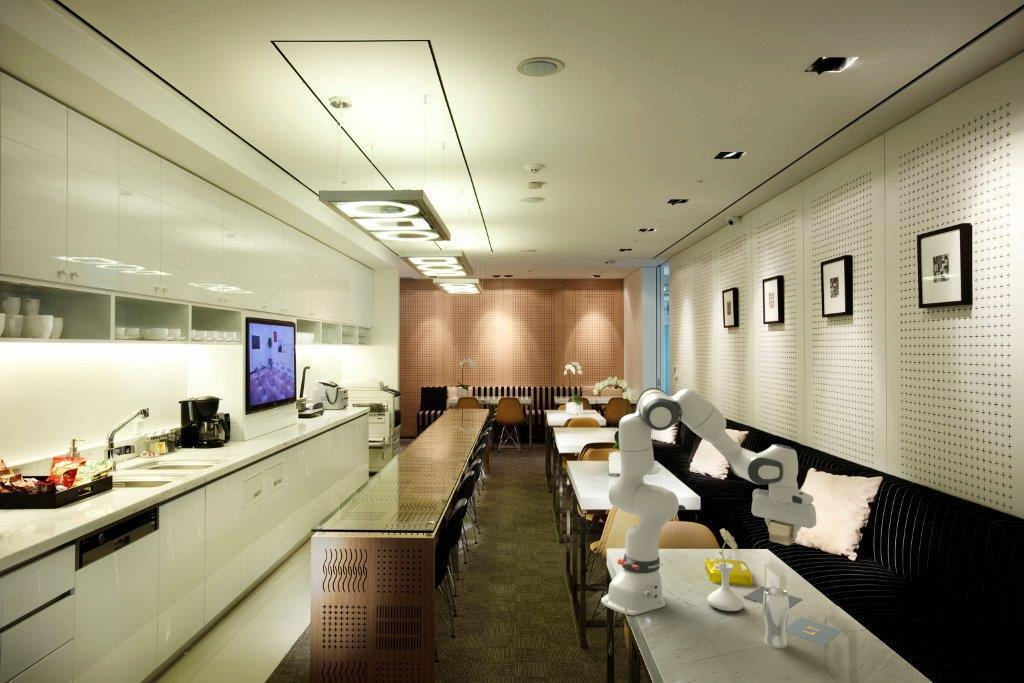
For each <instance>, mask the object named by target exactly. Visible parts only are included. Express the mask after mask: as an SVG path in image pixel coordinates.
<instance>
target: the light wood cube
mask: <svg viewBox="0 0 1024 683" xmlns="http://www.w3.org/2000/svg"><path fill="white" fill-rule="evenodd" d="M795 529H796V528H794V525H793V524H788V523H784V522H780V521H776V520H772V521H770V532H769V541H770V542H772V543H776V544H777V543H778V544H781V545H784V546H790V545H793V544H794V543H796V542H797V540H796V539H797V538H796V539H795V538H791V532H794V531H795Z"/></svg>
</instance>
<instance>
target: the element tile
mask: <svg viewBox="0 0 1024 683" xmlns="http://www.w3.org/2000/svg"><path fill="white" fill-rule="evenodd" d="M724 560H725V559H724ZM724 562H725V563H729V564H731V565H733V566H734V567H733V568H732V570H731V572H730V576H729V585H732V584H734V585H735V586H745V587H747V586H748V587H749V586H753V573H752V571H751V570H750V568H749V565H748V564H747V563H746V562H745V561H743V560H736V559H735V560H734V559H728V560H725V561H724ZM724 562H723V558H721V559H720V558H710V557H709V558H705V559H704V570H706V571H705V573H706V572H707V573H706V575H708V576H707V578H708V577H709V578H708V580H709V582H711V583H713V582H714V583H713V584H720V583H722V574H721V570H720V568H719V566H718V563H724ZM734 585H733V586H734Z"/></svg>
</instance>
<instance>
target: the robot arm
mask: <svg viewBox="0 0 1024 683" xmlns="http://www.w3.org/2000/svg"><path fill="white" fill-rule="evenodd" d="M633 411H634V413H629V414H626V415H623V416H622V417H621V419H620V420H619V422H618V447H619V454H620V469H621V470H620V473H619V477H618V478H617V479H616V480H615V481H614V482H612V484H611V485H610V487H609V489H608V500H609V503H610V505H611V506H613V507H615V508H616V509H617V510H620V511H622V512H625V513H628V514H633V515H637V516H638V524H635V525H633V526H631V527H629V528H628V530H626V534H625V553H624V555H623V559H622V558H619V557H618V559H617V565H619V566H621V568H620V569H619V571H618V572H617V574H616V575H615V576H614V578H613V579H612V580H611V582H610V583H609V584H608V586H609V587H608V593H607V594H605V595H604V596H603V597H601V598H600V599H601V600H600V603H601V604H602V605H603V606H605V607H607V608H609V609H610V610H613V611H615V612H618V613H621V614H624V615H629V616H637V615H640V614H644V613H647V612H651V611H654V610H657V609H660V608H663V607H666V606H667V603H666V601H665V600H664V592H663V591H664V590H663V581H662V579H663V578H662V576H661V575H660V574H661V573H660V568H661V567H660V566H661V559H660V556H659V545H660V535H661V532H662V529H663V528H664V526H665V525H666V524H667V523H668V522H669V521H671V520H673V519H674V518H675V517H676V515H677V513H678V511H679V508H680V507H679V506H680V505H679V500H678V497H677V495H676V494H675V492H674V491H671V490H669V489H667V488H664V487H662V486H658V485H653V484H650V483H649V484H648V483H645V481H644V476H647V475H648V474H650V473H651V472H652V471H653V470H654V467H655V464H656V463H655V457H654V447H653V440H652V432H653V430H654V431H658V432H659V431H665V430H667V429H670V428H671V427H673V426H674V425H676V424H678V423H679V422H682V423H684V425H686V426H687V428H689V430H691V431H692V432H693V433H694V434H696V435H697V436H698V437H700V438H701V439H703V440H704V441H706V442H708V443H710V444H711V445H712V446H713V447H714V448H715V449H716V450H717V451H718V452H719V453H720V454H721V455H722V456H723V457H724V459H725V460H726V461H727V464H728V465H729V468H730V470H731V471H732V472H733V473H732V474H734V475H735V476H736V477H738V478H741V479H745V480H747V481H749V482H752V483H753V484H756V485H761V486H762V485H768V489H761V488H755V489H754V490H753V491H752V502H751V513H752V515H753V516H754V517H760V518H762V519H763V518H764V522H765V524H766V526H767V531H768V532H769V533H770V522H773V521H775V520H776V521H780V522H784V523H788V524H793V525H794V528H796V529H795V531H794V532H791V538H795V539H798V533H799V532H800V530H801V528H806V529H812V528H814V527H815V526H817V512H816V507H815V505H814V504H813V502H814V497H813V495H810V494H808V493H806V492H805V491H803V490H801V489H799V486H798V485H799V484H798V481H797V477H798V474H799V461H798V454H797V450H795V449H794V448H793V447H791V446H789V445H788V446H787V445H783V444H777V443H774V444H771V446H769V447H768V448H767V449H765V450H763V451H760V452H758V453H756V452H755V451H752V450H750V449H749V448H748V449H747V448H745V447H742V446H740V445H739V444H738V443H737V442H736V441H735V440H734V439H733V438H732V437H731V436H730V435H729V434H728V433H727V432H726V428H727V420H726V417H724V415H723V413H722V412H721V411H720V409H718V408H717V407H716V406H715V405H714V404H713V403H712V402H710V401H709V400H708V399H707V398H706V397H704V396H703V395H701V394H700V393H699V392H697V391H695V390H693V389H692V388H689V387H688V388H687V387H685V388H683V389H680V390H679V391H677V392H676V393H675V394H674V395H669V396H668V394H667V393H666V392H665V391H664V390H662V389H660V388H658V387H649V388H646V389H644V390H643V391H642V392H641V394H640V395H639V397H638V399H637V400H636V403H635V406H634V408H633Z"/></svg>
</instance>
